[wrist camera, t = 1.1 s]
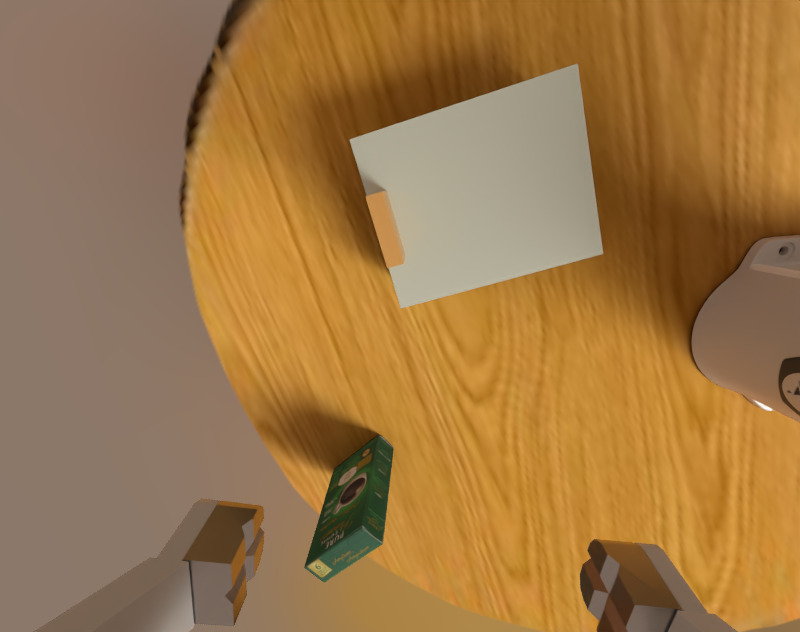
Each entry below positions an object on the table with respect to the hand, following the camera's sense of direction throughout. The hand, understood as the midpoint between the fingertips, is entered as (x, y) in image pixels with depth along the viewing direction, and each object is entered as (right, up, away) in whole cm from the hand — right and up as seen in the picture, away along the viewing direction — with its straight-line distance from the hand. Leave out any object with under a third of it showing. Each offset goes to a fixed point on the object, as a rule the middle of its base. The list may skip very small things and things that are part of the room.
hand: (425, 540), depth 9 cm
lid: (+5, +15, +20) cm, 26 cm away
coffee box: (-5, -12, +37) cm, 39 cm away
